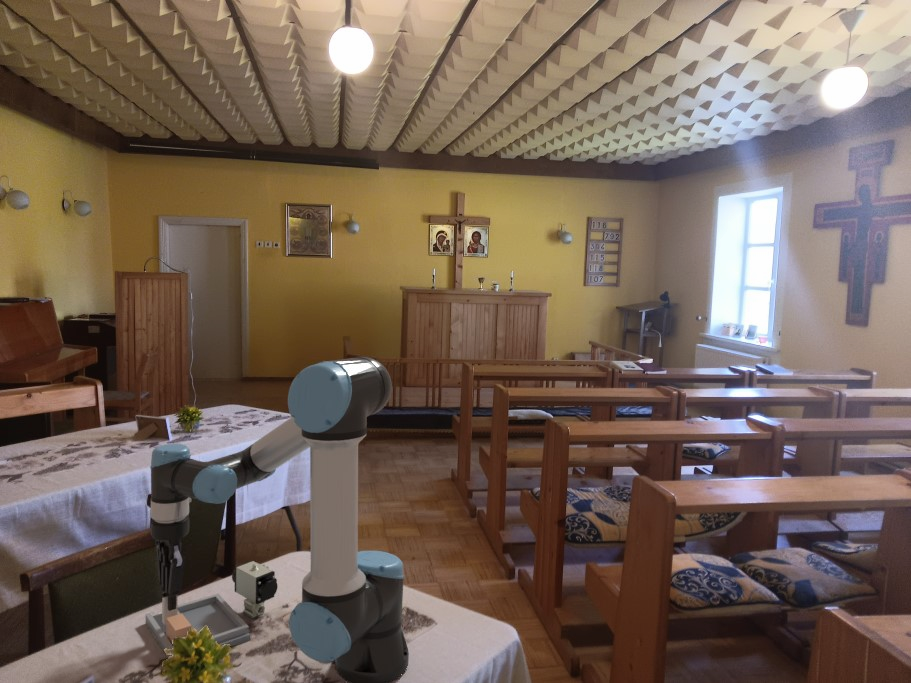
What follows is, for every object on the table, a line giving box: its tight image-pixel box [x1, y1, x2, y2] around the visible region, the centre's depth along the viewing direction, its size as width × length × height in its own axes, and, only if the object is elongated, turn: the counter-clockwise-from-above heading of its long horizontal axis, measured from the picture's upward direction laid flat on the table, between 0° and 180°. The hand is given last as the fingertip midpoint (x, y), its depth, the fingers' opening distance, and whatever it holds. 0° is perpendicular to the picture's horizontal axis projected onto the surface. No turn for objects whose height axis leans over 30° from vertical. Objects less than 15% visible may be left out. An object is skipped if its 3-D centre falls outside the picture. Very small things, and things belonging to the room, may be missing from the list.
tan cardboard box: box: [166, 614, 191, 646], centre depth 133 cm, size 6×3×4 cm, turn 41°
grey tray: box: [145, 593, 251, 658], centre depth 139 cm, size 20×16×4 cm
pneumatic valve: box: [231, 559, 278, 619], centre depth 147 cm, size 6×12×12 cm, turn 53°
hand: (169, 621), depth 137 cm, fingers closed
